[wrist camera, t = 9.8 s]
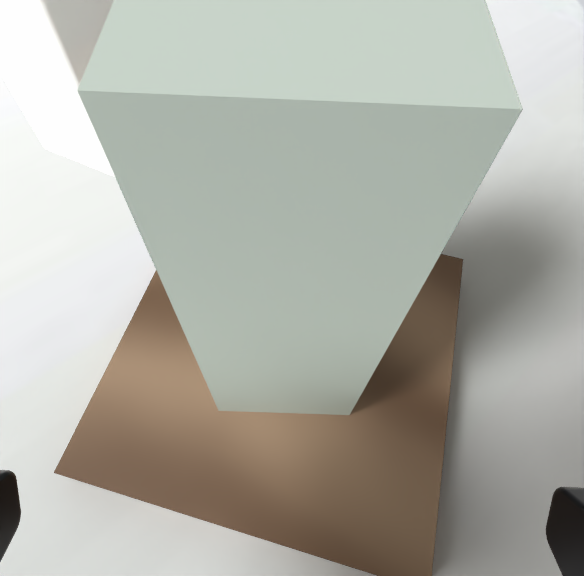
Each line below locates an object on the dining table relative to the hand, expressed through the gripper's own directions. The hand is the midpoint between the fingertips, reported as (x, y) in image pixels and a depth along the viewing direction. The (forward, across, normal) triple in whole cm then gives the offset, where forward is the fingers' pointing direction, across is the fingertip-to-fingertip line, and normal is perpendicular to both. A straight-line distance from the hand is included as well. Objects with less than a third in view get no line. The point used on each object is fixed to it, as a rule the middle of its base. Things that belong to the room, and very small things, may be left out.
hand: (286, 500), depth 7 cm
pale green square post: (+9, 0, +1) cm, 9 cm away
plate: (+10, 0, +2) cm, 10 cm away
